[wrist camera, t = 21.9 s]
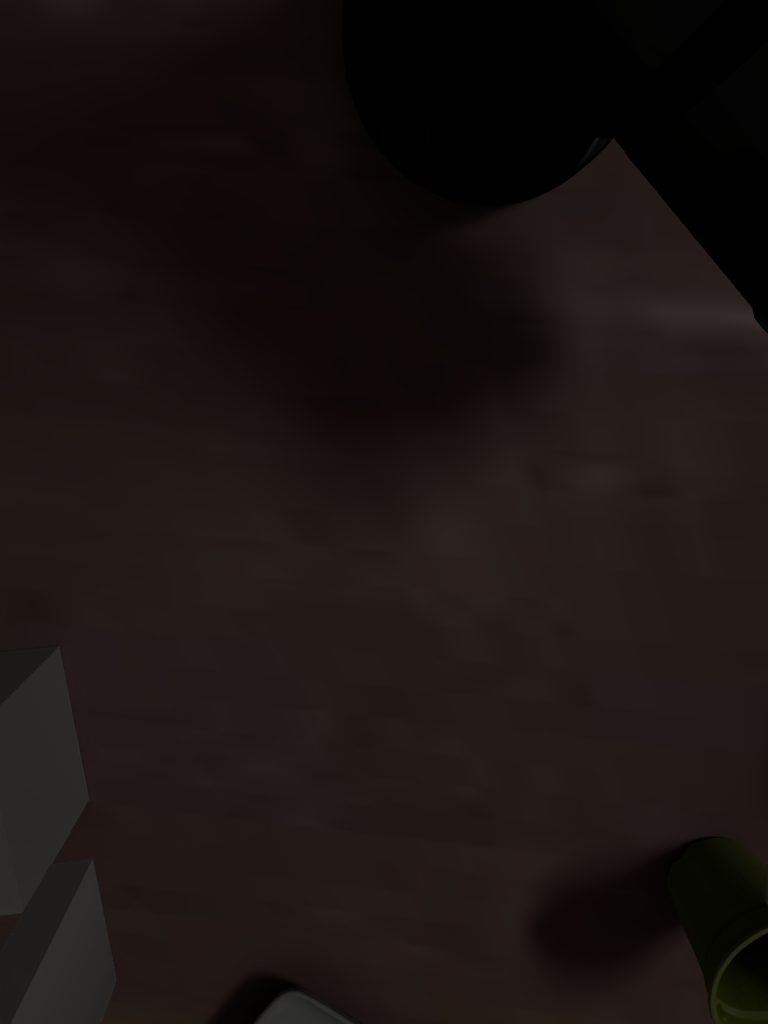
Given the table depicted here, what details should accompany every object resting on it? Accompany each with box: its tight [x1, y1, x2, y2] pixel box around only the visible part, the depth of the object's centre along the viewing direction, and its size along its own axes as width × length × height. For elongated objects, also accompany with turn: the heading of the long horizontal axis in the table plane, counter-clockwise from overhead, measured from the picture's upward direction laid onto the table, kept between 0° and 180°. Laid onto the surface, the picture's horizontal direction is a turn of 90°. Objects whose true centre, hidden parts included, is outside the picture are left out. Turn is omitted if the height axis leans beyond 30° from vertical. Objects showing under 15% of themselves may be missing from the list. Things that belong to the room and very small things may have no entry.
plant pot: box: [667, 838, 768, 1024], centre depth 41 cm, size 9×9×9 cm
